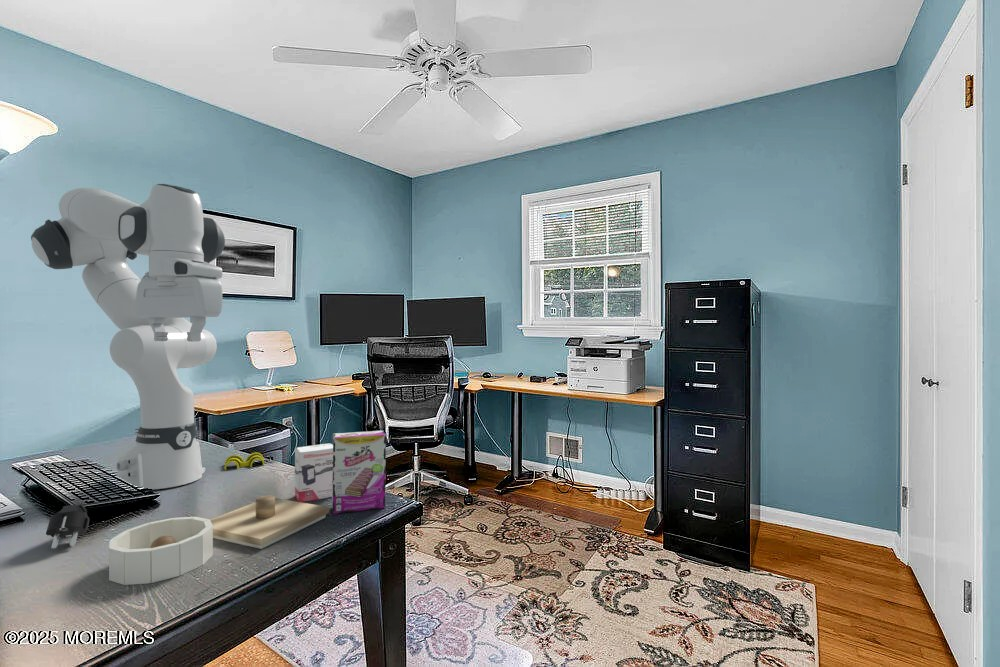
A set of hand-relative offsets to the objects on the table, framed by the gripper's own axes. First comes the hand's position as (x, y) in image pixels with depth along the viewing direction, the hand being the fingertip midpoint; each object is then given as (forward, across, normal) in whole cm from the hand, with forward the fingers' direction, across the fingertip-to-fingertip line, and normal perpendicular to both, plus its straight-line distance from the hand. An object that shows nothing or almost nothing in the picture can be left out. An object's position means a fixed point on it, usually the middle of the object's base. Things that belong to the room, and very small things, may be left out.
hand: (177, 341), depth 93 cm
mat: (+37, +13, +9) cm, 40 cm away
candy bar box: (+37, +24, +24) cm, 50 cm away
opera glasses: (+37, -24, +35) cm, 56 cm away
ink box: (+37, +10, +26) cm, 46 cm away
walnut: (+34, +10, -9) cm, 37 cm away
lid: (+36, +13, +9) cm, 39 cm away
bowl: (+37, +10, -9) cm, 39 cm away
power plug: (+39, -18, -6) cm, 43 cm away
